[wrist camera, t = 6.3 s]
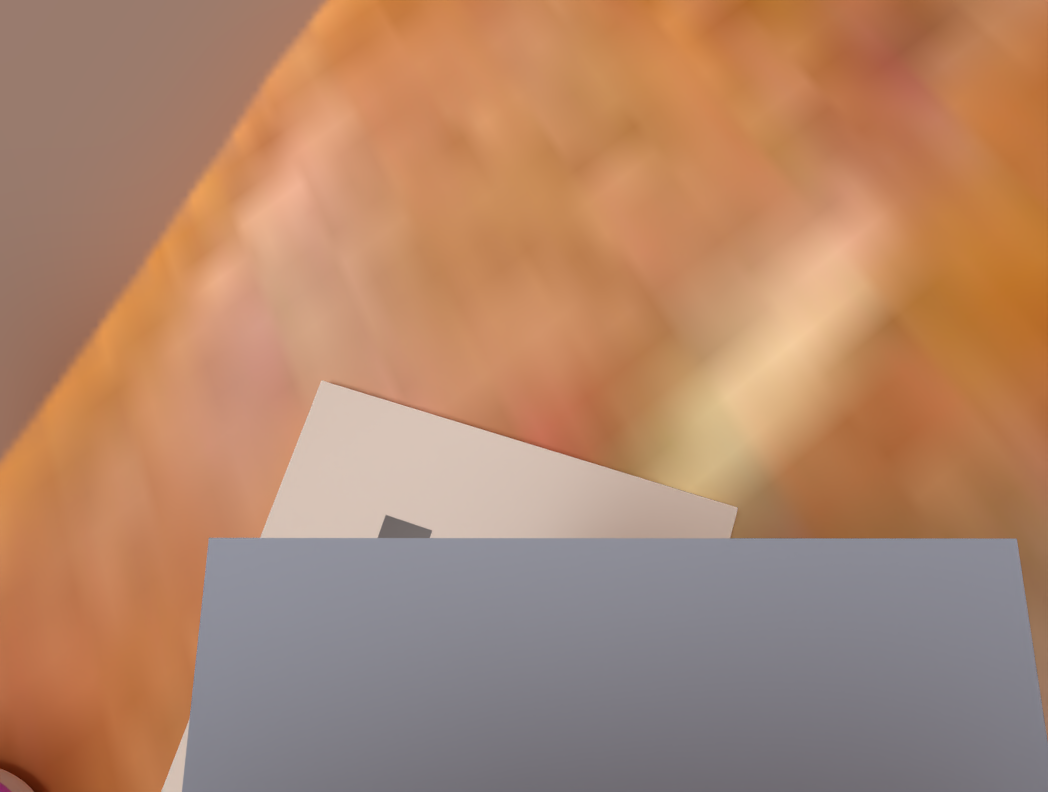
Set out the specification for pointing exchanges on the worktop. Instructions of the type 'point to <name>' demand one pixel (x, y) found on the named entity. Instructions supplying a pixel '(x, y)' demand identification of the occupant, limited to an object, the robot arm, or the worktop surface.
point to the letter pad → (457, 488)
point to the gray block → (615, 666)
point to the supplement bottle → (12, 783)
